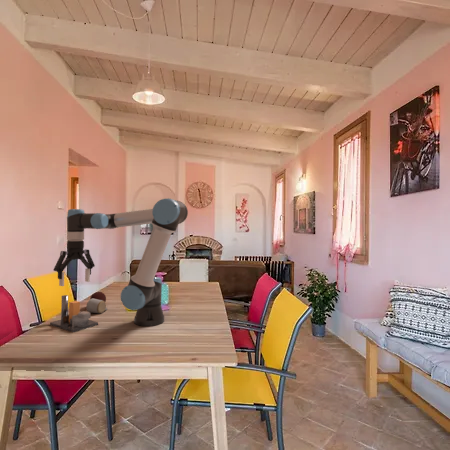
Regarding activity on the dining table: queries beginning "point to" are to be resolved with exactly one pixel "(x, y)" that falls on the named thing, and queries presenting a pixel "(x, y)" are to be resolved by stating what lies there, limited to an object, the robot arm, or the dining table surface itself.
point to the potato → (99, 296)
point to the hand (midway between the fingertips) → (75, 283)
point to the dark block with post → (65, 319)
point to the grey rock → (80, 318)
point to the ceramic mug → (96, 306)
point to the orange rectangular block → (73, 309)
